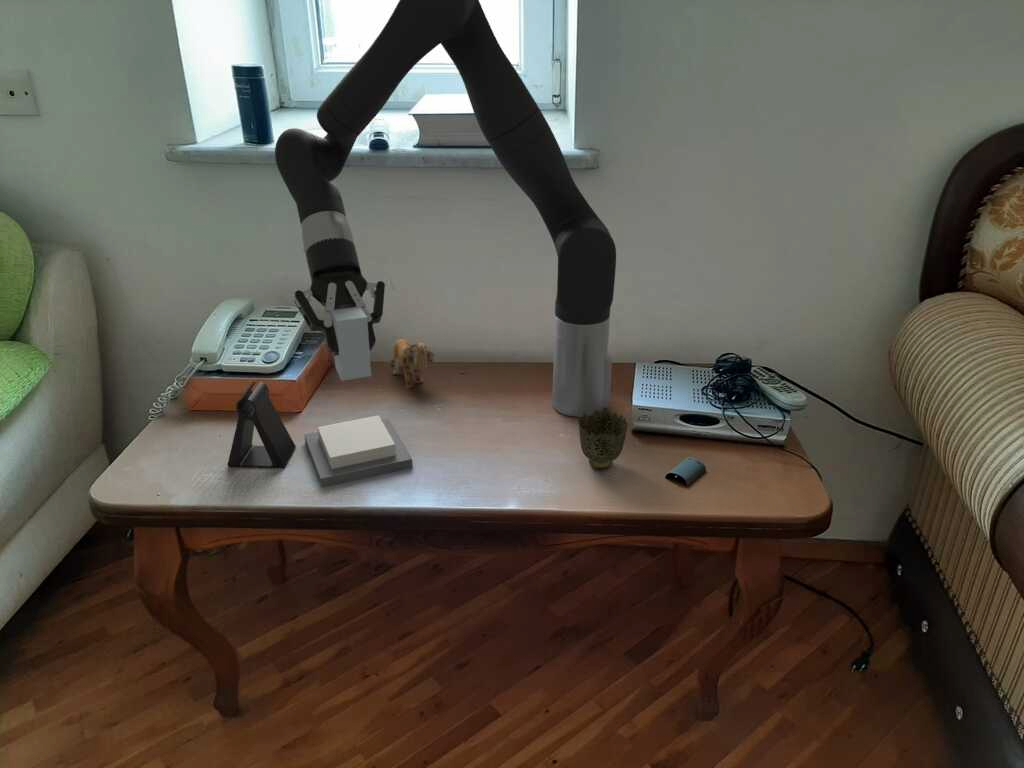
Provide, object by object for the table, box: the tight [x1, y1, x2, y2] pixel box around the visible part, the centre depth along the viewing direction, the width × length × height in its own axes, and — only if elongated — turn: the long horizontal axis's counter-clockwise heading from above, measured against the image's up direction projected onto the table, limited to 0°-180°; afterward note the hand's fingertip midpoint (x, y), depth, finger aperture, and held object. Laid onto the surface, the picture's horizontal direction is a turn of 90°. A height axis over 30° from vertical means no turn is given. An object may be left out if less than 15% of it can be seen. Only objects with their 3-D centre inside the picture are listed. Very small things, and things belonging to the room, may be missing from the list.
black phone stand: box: [227, 381, 296, 469], centre depth 121 cm, size 9×6×12 cm, turn 87°
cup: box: [577, 408, 629, 471], centre depth 120 cm, size 8×7×8 cm
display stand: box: [303, 414, 414, 488], centre depth 124 cm, size 14×14×4 cm
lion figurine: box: [390, 338, 437, 389], centre depth 148 cm, size 15×5×9 cm, turn 35°
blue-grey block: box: [331, 307, 372, 382], centre depth 116 cm, size 4×4×10 cm
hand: (353, 350), depth 115 cm, fingers closed on blue-grey block, 4 cm apart
